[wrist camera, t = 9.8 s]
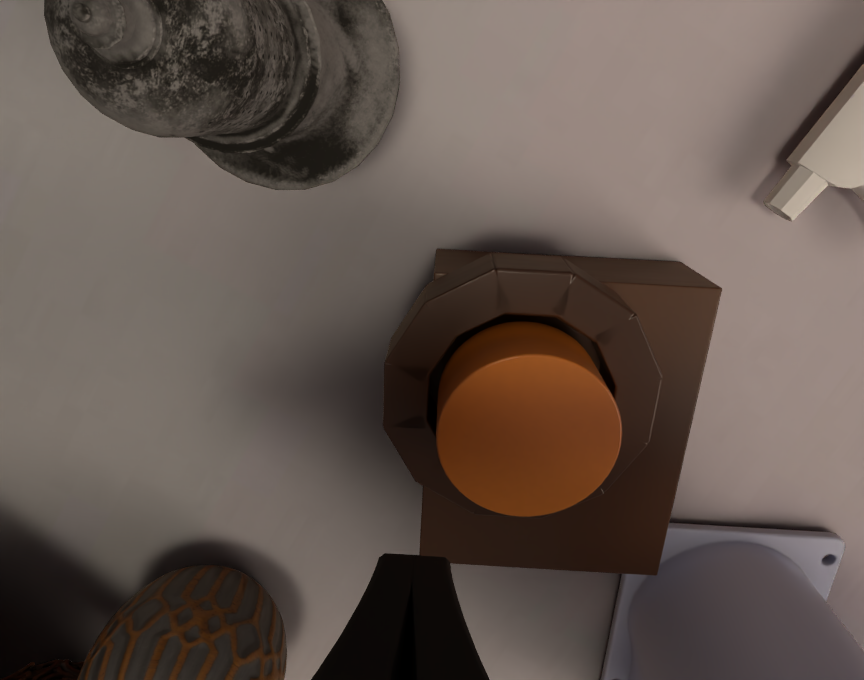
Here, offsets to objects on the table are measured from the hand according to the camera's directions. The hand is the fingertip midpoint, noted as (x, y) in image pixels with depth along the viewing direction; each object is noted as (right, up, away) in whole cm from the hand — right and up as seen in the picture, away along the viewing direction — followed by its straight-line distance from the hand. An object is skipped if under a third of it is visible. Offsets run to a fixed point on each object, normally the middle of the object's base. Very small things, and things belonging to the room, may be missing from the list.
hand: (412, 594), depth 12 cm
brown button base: (+4, +3, +9) cm, 11 cm away
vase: (-8, -6, +13) cm, 17 cm away
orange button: (+3, +4, +4) cm, 6 cm away
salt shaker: (-3, +13, +6) cm, 15 cm away
